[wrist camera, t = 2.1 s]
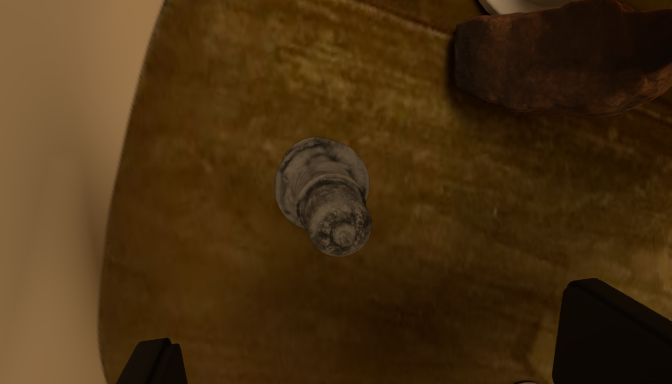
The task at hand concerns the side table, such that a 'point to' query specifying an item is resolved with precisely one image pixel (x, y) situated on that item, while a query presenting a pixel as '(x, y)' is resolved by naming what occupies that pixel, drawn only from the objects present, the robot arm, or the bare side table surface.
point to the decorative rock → (566, 58)
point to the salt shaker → (326, 194)
